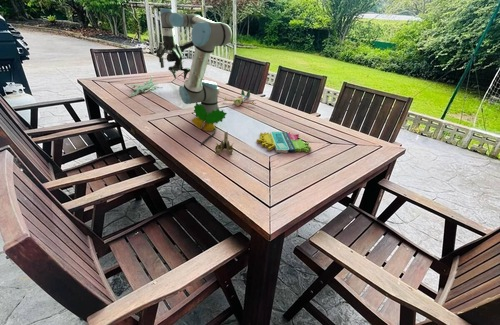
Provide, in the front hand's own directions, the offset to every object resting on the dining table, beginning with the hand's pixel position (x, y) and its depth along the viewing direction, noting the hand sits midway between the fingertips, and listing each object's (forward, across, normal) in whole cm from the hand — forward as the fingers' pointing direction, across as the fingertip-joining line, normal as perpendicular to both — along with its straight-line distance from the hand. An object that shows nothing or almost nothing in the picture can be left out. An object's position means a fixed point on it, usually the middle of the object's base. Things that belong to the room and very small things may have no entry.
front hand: (171, 68), depth 184 cm
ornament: (+28, +41, -29) cm, 58 cm away
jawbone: (+28, +61, -55) cm, 87 cm away
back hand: (+18, -21, +48) cm, 55 cm away
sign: (+28, +88, -32) cm, 98 cm away
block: (+28, +13, +52) cm, 61 cm away
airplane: (+28, -44, +26) cm, 58 cm away
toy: (+28, +42, +37) cm, 63 cm away
